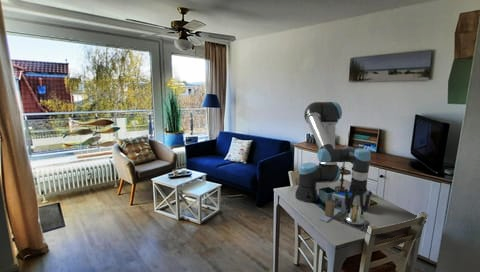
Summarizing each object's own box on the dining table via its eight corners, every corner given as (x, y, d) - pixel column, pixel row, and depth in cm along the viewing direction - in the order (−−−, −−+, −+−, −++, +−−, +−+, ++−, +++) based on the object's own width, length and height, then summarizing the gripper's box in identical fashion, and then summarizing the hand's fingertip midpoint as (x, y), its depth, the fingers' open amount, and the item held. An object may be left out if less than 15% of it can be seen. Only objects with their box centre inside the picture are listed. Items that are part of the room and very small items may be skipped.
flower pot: (317, 201, 166) (318, 188, 164) (327, 199, 169) (328, 186, 167) (326, 207, 158) (327, 193, 156) (337, 204, 161) (338, 191, 159)
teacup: (371, 211, 152) (372, 199, 151) (352, 210, 154) (353, 197, 153) (365, 201, 165) (366, 190, 164) (347, 200, 168) (348, 188, 166)
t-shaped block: (330, 224, 138) (331, 208, 136) (315, 218, 144) (316, 203, 143) (347, 210, 153) (348, 196, 152) (333, 205, 160) (334, 192, 158)
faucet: (346, 214, 146) (348, 197, 144) (365, 219, 141) (367, 201, 139) (342, 222, 138) (344, 204, 136) (362, 227, 132) (364, 209, 130)
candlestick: (352, 191, 181) (357, 144, 174) (339, 193, 178) (343, 145, 172) (342, 186, 191) (346, 141, 185) (330, 187, 189) (333, 142, 182)
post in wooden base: (330, 217, 144) (332, 202, 142) (324, 214, 146) (326, 200, 144) (343, 206, 156) (345, 193, 154) (338, 205, 158) (339, 191, 157)
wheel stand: (348, 215, 147) (348, 213, 147) (368, 222, 140) (368, 220, 140) (340, 222, 140) (340, 220, 140) (360, 230, 132) (361, 228, 132)
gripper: (343, 179, 130) (338, 220, 135) (379, 183, 125) (372, 225, 130) (341, 174, 137) (337, 213, 142) (375, 177, 133) (369, 218, 137)
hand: (354, 218), depth 136 cm, fingers open, 4 cm apart
